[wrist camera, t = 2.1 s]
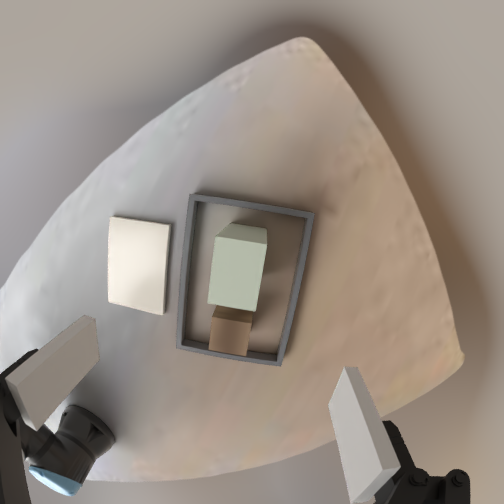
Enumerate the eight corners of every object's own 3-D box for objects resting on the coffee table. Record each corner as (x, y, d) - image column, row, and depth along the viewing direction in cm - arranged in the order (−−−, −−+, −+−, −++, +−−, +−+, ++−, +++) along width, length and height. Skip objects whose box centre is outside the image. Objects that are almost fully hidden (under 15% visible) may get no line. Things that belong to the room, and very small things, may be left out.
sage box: (223, 271, 40) (207, 303, 28) (230, 222, 38) (215, 236, 27) (258, 277, 40) (255, 311, 28) (266, 228, 38) (267, 244, 27)
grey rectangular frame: (179, 342, 43) (176, 348, 41) (193, 193, 38) (189, 193, 36) (280, 359, 42) (281, 366, 40) (312, 212, 37) (314, 213, 35)
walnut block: (217, 326, 42) (208, 349, 35) (220, 296, 41) (212, 316, 34) (249, 331, 42) (245, 356, 35) (254, 302, 41) (251, 323, 34)
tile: (111, 299, 42) (108, 301, 41) (113, 216, 39) (109, 216, 38) (164, 312, 42) (162, 315, 41) (171, 224, 39) (169, 225, 38)
